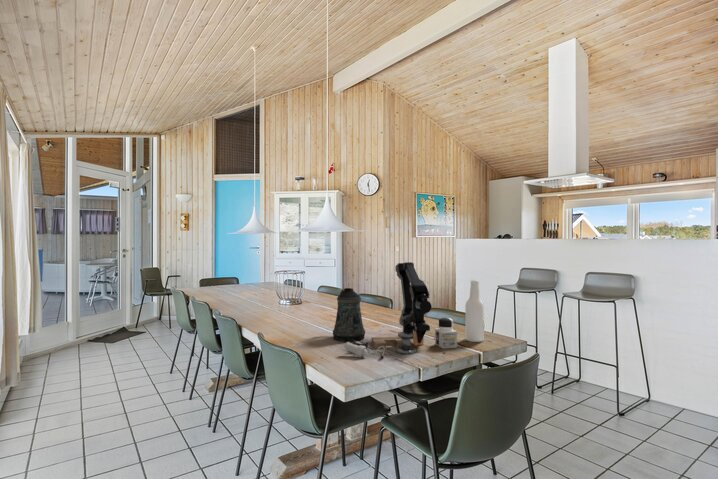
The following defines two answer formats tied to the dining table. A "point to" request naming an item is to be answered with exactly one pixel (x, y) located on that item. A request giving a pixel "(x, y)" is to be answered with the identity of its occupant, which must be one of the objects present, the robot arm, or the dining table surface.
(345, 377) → the dining table surface
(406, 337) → the bobbin
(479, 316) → the alcohol
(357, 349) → the clip-on lamp
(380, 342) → the notched board
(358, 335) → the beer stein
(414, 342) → the block
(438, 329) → the container
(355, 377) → the dining table surface
